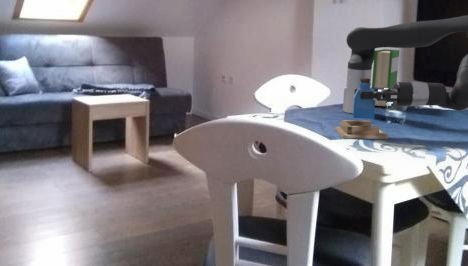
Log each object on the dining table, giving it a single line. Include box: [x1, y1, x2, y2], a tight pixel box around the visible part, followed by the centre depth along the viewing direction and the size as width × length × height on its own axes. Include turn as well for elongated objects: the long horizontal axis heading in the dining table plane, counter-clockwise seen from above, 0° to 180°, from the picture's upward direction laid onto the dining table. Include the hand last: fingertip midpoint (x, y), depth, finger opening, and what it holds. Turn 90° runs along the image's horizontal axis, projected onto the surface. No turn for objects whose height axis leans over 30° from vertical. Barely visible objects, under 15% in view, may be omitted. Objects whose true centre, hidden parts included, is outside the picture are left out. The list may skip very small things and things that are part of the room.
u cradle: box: [334, 119, 390, 140], centre depth 160 cm, size 14×14×3 cm
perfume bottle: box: [352, 78, 376, 120], centre depth 157 cm, size 6×6×12 cm
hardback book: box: [371, 48, 400, 107], centre depth 221 cm, size 18×7×24 cm, turn 153°
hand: (357, 93), depth 157 cm, fingers closed on perfume bottle, 7 cm apart
